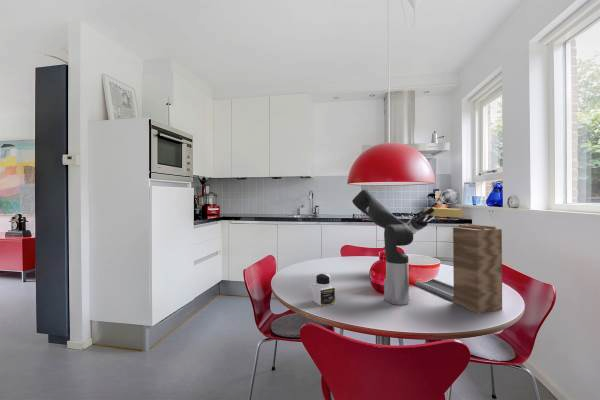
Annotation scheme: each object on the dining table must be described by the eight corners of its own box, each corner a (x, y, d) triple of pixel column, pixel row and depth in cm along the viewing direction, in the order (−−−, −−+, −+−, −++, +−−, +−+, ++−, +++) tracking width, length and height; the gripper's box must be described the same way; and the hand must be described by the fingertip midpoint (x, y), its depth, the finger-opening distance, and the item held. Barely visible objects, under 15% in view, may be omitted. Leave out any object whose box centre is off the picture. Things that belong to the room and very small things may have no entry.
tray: (452, 301, 123) (452, 295, 123) (415, 284, 147) (415, 280, 147) (473, 298, 126) (473, 293, 126) (433, 282, 150) (433, 278, 150)
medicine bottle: (320, 306, 119) (320, 277, 119) (312, 301, 125) (312, 273, 125) (335, 303, 122) (334, 275, 122) (326, 298, 128) (325, 271, 128)
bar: (455, 217, 126) (455, 209, 126) (424, 214, 145) (424, 207, 145) (462, 217, 127) (462, 209, 127) (430, 214, 146) (430, 207, 146)
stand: (478, 313, 110) (477, 227, 110) (453, 302, 122) (453, 225, 122) (502, 309, 114) (501, 226, 113) (476, 299, 125) (475, 224, 125)
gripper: (403, 217, 154) (421, 202, 139) (425, 217, 158) (445, 201, 143) (407, 230, 150) (427, 216, 136) (430, 229, 154) (451, 215, 140)
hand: (436, 208), depth 140 cm, fingers closed on bar, 3 cm apart
